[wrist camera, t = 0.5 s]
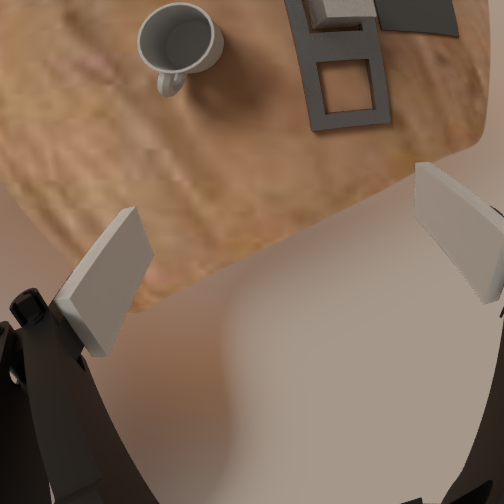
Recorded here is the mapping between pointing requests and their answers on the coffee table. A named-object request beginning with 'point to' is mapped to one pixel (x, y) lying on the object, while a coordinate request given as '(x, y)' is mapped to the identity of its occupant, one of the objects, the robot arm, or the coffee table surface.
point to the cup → (179, 44)
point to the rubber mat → (417, 16)
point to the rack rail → (337, 49)
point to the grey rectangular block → (340, 12)
